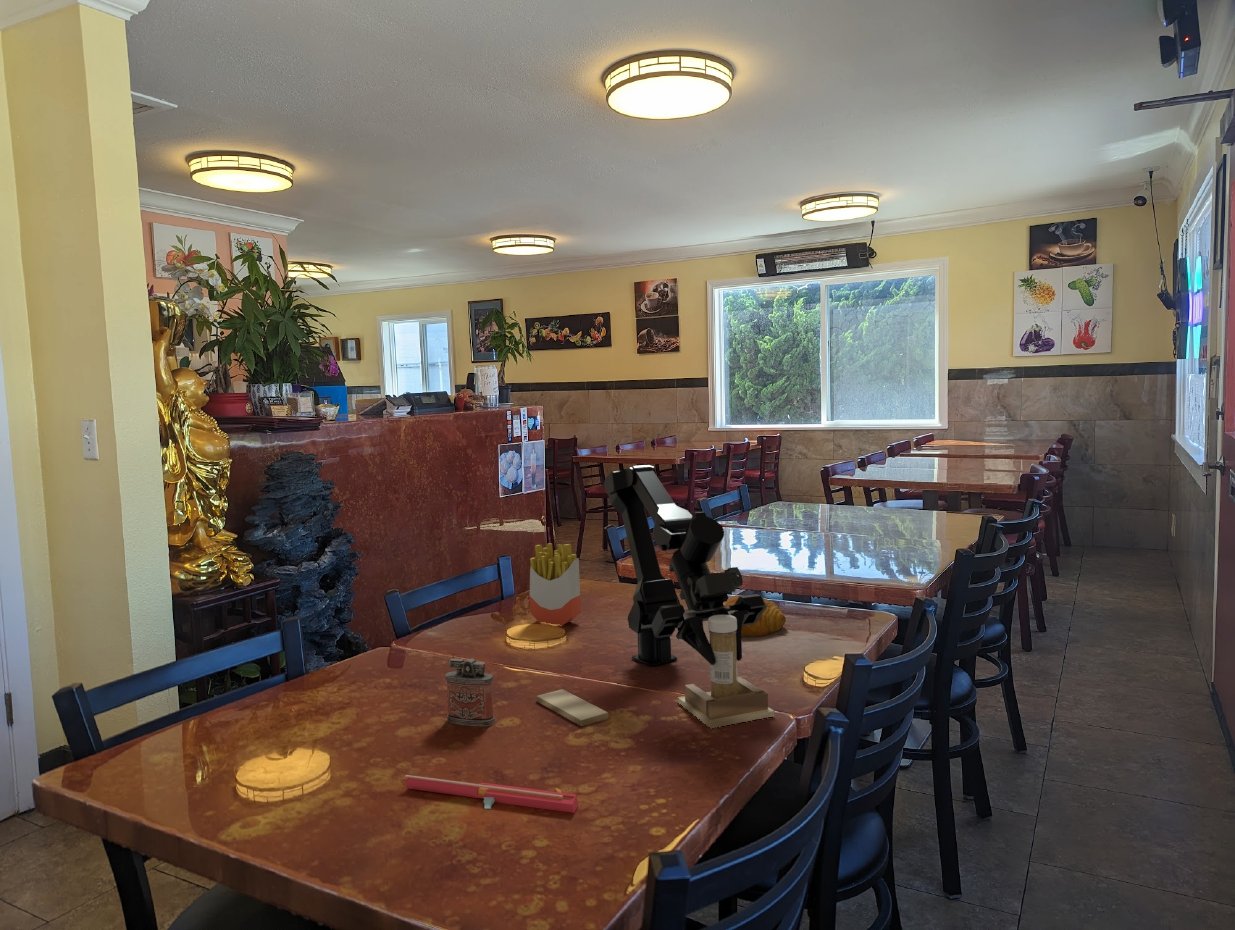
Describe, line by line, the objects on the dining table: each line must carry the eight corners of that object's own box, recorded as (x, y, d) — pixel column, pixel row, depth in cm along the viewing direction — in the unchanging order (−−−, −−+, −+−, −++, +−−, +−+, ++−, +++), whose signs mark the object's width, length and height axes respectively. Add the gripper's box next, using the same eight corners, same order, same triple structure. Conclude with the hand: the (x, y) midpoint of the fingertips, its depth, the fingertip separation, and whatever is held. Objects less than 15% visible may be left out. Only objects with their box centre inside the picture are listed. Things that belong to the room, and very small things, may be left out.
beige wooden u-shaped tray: (677, 703, 137) (677, 682, 137) (737, 692, 141) (736, 672, 141) (711, 729, 126) (710, 706, 126) (774, 717, 130) (774, 695, 130)
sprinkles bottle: (743, 697, 134) (741, 615, 133) (730, 706, 131) (728, 622, 130) (717, 692, 137) (716, 612, 136) (704, 701, 133) (702, 619, 132)
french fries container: (571, 628, 185) (568, 547, 184) (529, 623, 190) (526, 545, 189) (581, 622, 189) (578, 544, 188) (540, 618, 194) (537, 542, 193)
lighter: (498, 719, 133) (495, 658, 132) (488, 727, 130) (485, 664, 129) (454, 714, 136) (451, 654, 135) (443, 722, 132) (440, 661, 132)
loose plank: (537, 704, 141) (536, 695, 140) (562, 697, 143) (562, 689, 143) (581, 729, 129) (581, 720, 129) (608, 721, 132) (607, 712, 132)
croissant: (732, 626, 191) (727, 591, 191) (795, 625, 181) (790, 589, 182) (699, 640, 179) (694, 603, 179) (765, 640, 170) (759, 601, 170)
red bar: (569, 828, 101) (582, 799, 105) (566, 814, 100) (580, 786, 104) (398, 803, 108) (416, 777, 112) (394, 790, 108) (413, 765, 112)
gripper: (656, 557, 132) (688, 644, 123) (760, 546, 139) (797, 628, 129) (639, 595, 140) (667, 679, 131) (737, 583, 147) (771, 662, 137)
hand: (727, 661), depth 132 cm, fingers closed on sprinkles bottle, 4 cm apart
